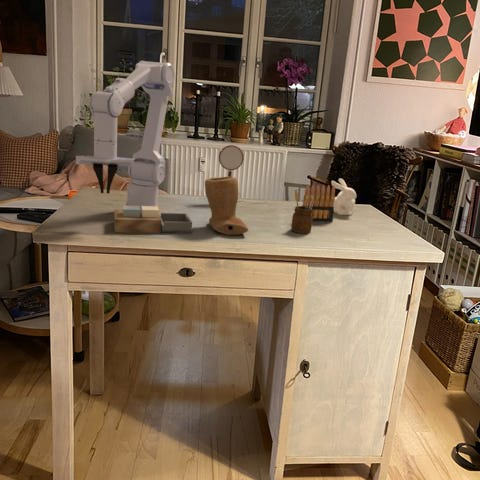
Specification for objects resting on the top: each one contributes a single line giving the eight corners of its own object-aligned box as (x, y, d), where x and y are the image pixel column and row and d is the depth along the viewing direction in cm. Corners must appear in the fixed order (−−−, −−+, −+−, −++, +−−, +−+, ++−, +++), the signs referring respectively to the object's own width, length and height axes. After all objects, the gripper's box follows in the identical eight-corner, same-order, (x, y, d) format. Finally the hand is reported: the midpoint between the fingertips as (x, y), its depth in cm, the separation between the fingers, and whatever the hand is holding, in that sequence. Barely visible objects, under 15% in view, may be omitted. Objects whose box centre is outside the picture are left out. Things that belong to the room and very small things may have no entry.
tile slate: (122, 216, 134) (123, 209, 134) (122, 212, 138) (122, 205, 138) (140, 217, 135) (140, 209, 135) (139, 212, 139) (139, 205, 139)
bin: (161, 232, 135) (162, 222, 134) (158, 222, 144) (158, 212, 144) (191, 233, 137) (192, 222, 136) (186, 223, 146) (186, 213, 146)
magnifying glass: (239, 202, 181) (244, 145, 175) (239, 203, 179) (244, 146, 173) (215, 200, 179) (219, 144, 174) (215, 201, 178) (219, 144, 172)
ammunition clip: (330, 220, 165) (335, 184, 162) (332, 222, 164) (337, 185, 160) (299, 219, 163) (304, 183, 159) (301, 221, 161) (306, 184, 158)
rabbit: (354, 217, 173) (359, 183, 170) (327, 214, 174) (331, 179, 171) (352, 210, 184) (357, 177, 181) (326, 207, 186) (331, 174, 182)
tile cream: (142, 217, 135) (142, 209, 135) (141, 213, 140) (141, 205, 139) (159, 217, 137) (159, 210, 136) (157, 213, 141) (157, 206, 140)
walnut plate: (114, 232, 132) (114, 219, 131) (114, 222, 141) (114, 209, 140) (160, 232, 135) (161, 220, 134) (157, 222, 144) (157, 211, 143)
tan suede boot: (200, 221, 150) (203, 171, 146) (239, 223, 152) (244, 173, 148) (205, 236, 136) (208, 181, 132) (248, 237, 138) (253, 183, 134)
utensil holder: (305, 235, 146) (311, 194, 142) (286, 230, 149) (291, 190, 145) (314, 231, 150) (319, 191, 147) (295, 227, 153) (299, 188, 150)
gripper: (75, 140, 124) (75, 194, 128) (135, 144, 128) (133, 196, 131) (76, 137, 130) (76, 189, 134) (133, 140, 134) (132, 191, 138)
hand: (105, 192), depth 133 cm, fingers closed
